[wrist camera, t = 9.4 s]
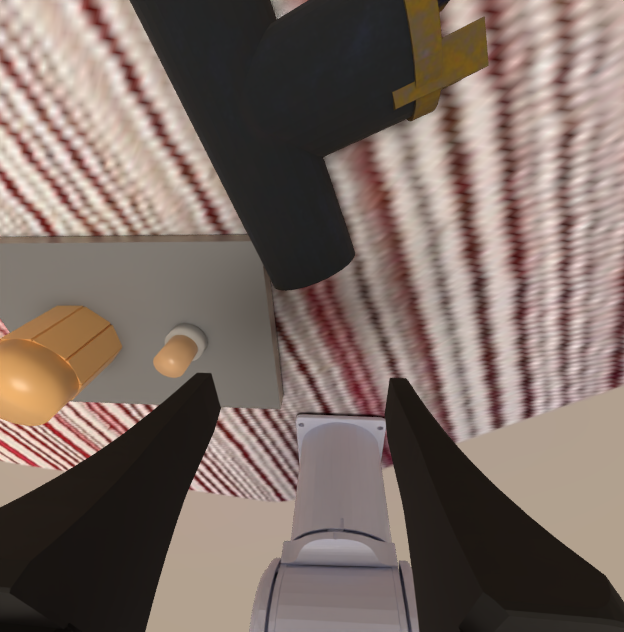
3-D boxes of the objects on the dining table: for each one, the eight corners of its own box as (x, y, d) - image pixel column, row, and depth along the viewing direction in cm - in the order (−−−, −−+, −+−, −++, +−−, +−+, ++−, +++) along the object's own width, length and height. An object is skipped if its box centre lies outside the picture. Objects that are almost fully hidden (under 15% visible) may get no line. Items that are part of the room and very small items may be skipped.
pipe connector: (452, -577, 5) (508, 221, 12) (401, -243, 10) (463, 199, 16) (29, -135, 8) (264, 301, 15) (140, -37, 13) (282, 264, 20)
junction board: (283, 395, 25) (273, 441, 21) (69, 388, 27) (24, 429, 23) (265, 234, 18) (245, 258, 14) (-25, 237, 20) (-114, 260, 16)
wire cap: (129, 362, 22) (68, 427, 17) (69, 361, 23) (-8, 424, 18) (103, 305, 20) (22, 362, 15) (36, 305, 20) (-65, 360, 15)
